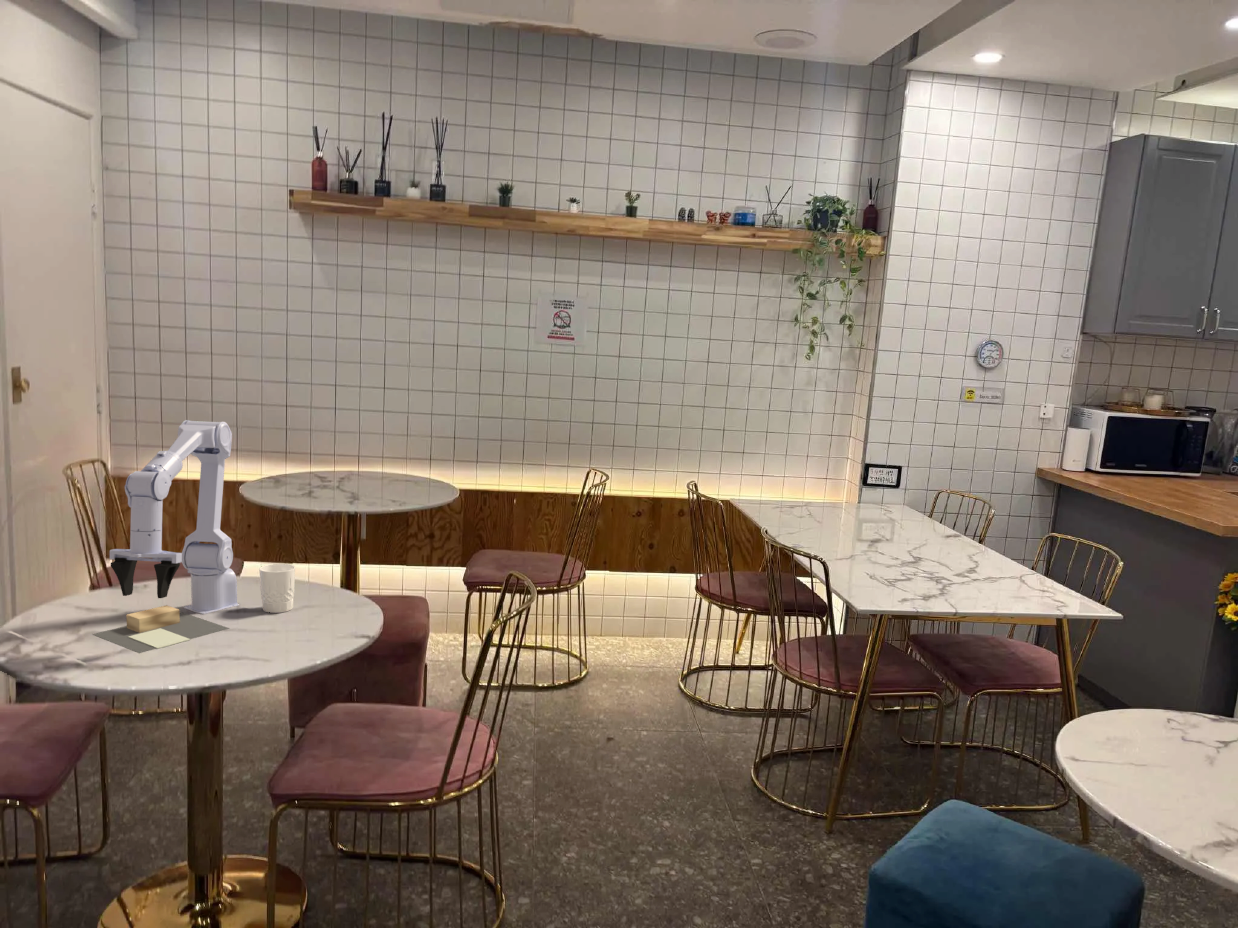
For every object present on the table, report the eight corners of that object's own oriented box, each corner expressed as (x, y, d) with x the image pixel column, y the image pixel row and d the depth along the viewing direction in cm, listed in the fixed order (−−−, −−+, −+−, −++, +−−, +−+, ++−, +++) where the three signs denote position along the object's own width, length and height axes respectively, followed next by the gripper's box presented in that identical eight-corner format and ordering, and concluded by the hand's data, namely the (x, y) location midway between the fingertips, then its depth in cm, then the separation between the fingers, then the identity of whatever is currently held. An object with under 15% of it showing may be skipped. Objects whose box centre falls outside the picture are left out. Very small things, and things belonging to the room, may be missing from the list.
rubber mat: (182, 613, 208) (182, 611, 208) (231, 630, 198) (231, 627, 198) (92, 635, 191) (92, 633, 191) (140, 655, 181) (140, 652, 181)
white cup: (258, 614, 210) (257, 572, 208) (261, 604, 217) (261, 564, 216) (294, 613, 212) (293, 571, 210) (296, 603, 219) (296, 563, 218)
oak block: (166, 618, 203) (166, 605, 203) (179, 622, 201) (179, 609, 200) (126, 627, 196) (126, 614, 196) (139, 632, 193) (139, 619, 193)
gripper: (99, 530, 182) (98, 597, 182) (167, 534, 180) (166, 601, 181) (122, 526, 189) (121, 591, 189) (188, 530, 187) (186, 595, 188)
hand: (144, 596), depth 185 cm, fingers open, 7 cm apart
